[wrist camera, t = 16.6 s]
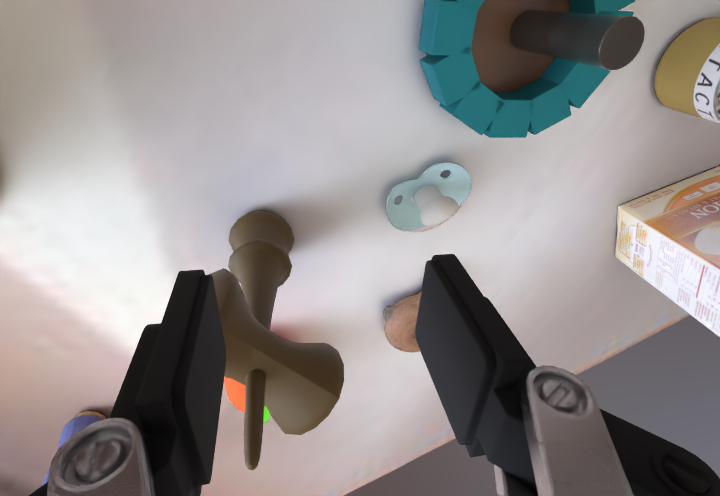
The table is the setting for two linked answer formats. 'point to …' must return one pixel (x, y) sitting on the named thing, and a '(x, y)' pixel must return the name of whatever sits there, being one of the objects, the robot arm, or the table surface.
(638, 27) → the peg stand
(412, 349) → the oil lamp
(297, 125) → the table surface
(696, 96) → the patterned cylinder
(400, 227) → the pacifier
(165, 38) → the table surface
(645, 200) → the coffeecake box
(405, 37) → the table surface
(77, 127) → the table surface
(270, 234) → the kendama
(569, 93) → the ring
